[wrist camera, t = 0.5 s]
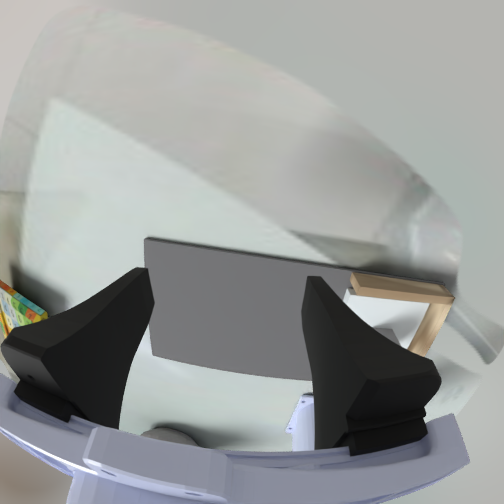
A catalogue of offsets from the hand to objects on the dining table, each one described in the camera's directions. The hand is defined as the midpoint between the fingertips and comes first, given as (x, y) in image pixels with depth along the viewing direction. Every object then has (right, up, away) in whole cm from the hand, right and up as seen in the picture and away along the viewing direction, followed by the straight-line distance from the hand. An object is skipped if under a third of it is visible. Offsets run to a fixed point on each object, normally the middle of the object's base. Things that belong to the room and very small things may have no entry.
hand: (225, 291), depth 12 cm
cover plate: (+14, -6, +13) cm, 20 cm away
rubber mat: (+5, -6, +14) cm, 16 cm away
